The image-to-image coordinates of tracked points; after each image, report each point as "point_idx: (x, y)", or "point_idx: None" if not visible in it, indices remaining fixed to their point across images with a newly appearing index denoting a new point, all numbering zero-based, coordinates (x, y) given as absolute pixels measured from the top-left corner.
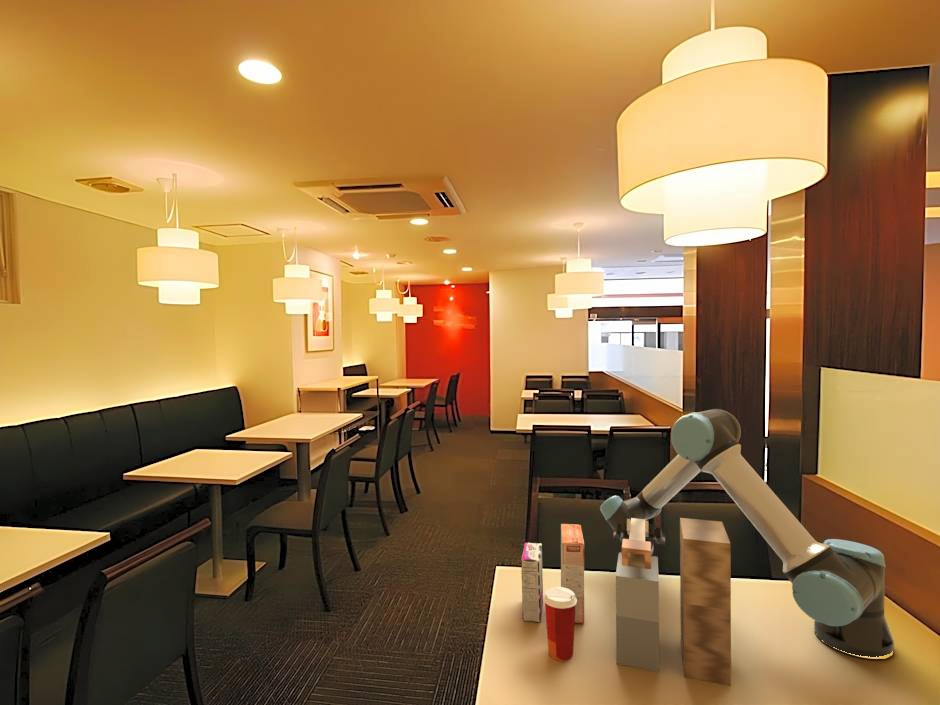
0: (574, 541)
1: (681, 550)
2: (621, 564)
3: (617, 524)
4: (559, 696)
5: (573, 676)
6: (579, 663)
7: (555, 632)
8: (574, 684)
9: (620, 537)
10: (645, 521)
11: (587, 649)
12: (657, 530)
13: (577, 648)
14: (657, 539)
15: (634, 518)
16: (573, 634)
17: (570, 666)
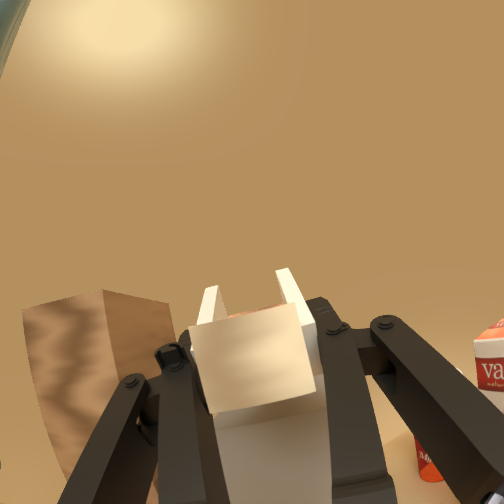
0: (499, 323)
1: (151, 363)
2: (321, 380)
3: (385, 319)
4: (390, 441)
5: (395, 462)
6: (402, 477)
7: None
8: (386, 457)
9: (442, 476)
10: (217, 288)
11: (411, 501)
12: (147, 381)
13: (427, 491)
14: (154, 453)
15: (269, 308)
16: (416, 447)
17: (410, 467)
